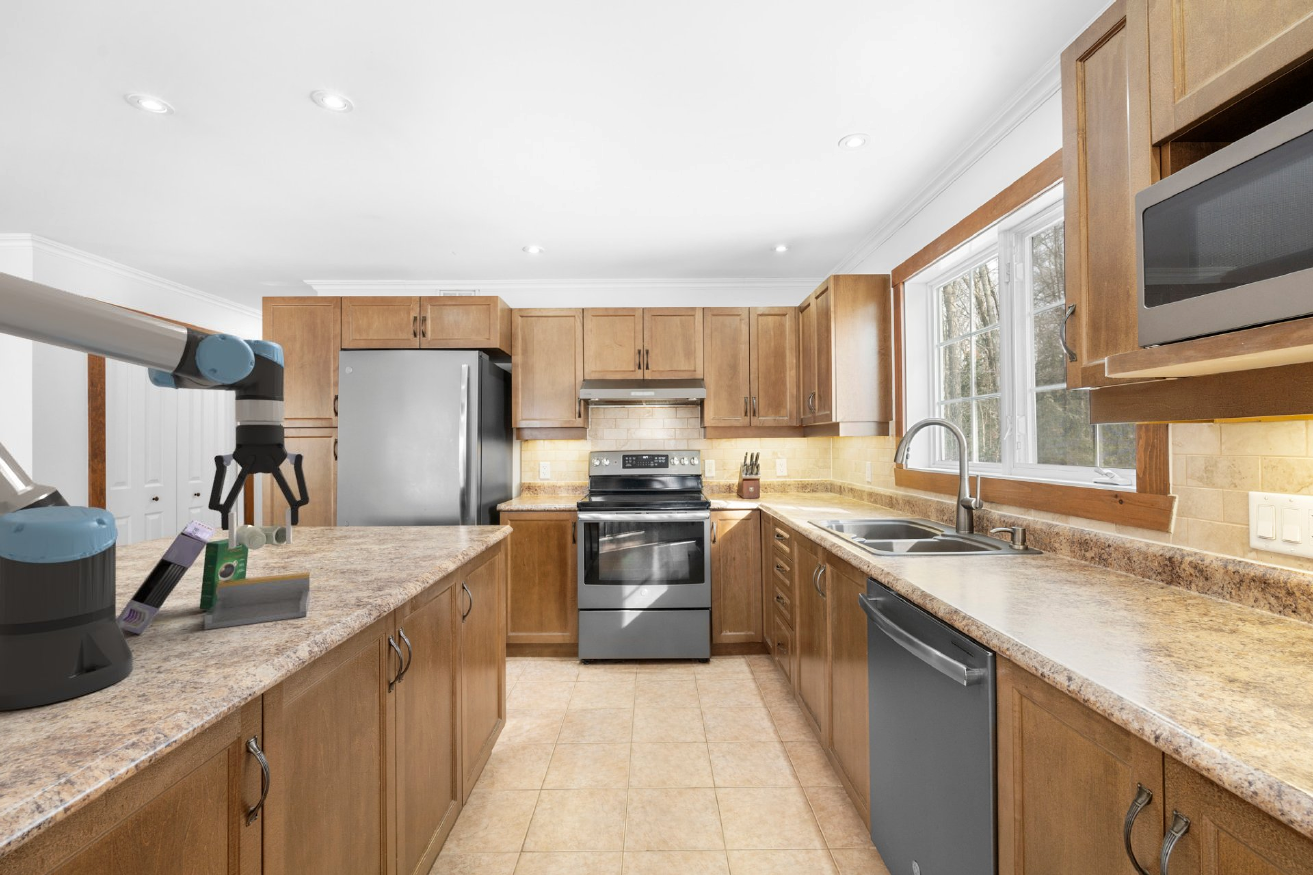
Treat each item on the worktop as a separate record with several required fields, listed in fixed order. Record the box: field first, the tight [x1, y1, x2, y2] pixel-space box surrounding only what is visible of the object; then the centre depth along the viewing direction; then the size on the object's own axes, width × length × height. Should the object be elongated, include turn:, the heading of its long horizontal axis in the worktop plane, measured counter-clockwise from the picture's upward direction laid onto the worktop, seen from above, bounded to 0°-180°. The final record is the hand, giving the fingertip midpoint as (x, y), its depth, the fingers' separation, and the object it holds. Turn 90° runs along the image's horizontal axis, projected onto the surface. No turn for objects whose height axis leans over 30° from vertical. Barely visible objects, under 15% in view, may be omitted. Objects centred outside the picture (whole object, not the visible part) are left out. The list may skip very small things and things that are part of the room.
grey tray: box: [204, 571, 311, 631], centre depth 108 cm, size 13×15×6 cm
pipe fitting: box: [236, 524, 286, 551], centre depth 106 cm, size 8×4×7 cm
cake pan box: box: [116, 519, 216, 636], centre depth 105 cm, size 19×5×18 cm, turn 34°
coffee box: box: [199, 538, 249, 612], centre depth 114 cm, size 8×3×13 cm, turn 175°
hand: (261, 545), depth 107 cm, fingers closed on pipe fitting, 8 cm apart
